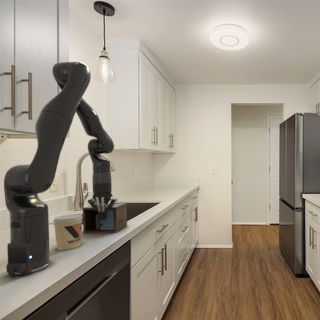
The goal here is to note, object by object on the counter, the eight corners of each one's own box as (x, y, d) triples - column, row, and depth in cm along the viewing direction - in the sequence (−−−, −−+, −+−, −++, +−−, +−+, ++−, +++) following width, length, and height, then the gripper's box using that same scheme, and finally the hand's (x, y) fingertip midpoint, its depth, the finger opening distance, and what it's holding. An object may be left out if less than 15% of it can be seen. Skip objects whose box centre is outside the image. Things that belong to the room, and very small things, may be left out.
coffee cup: (68, 251, 89) (67, 219, 89) (48, 250, 91) (47, 219, 91) (88, 242, 98) (88, 214, 98) (70, 241, 100) (69, 213, 100)
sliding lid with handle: (108, 232, 108) (108, 211, 107) (94, 232, 108) (94, 212, 108) (114, 229, 112) (113, 209, 112) (100, 229, 112) (100, 209, 112)
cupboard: (116, 232, 111) (116, 207, 111) (83, 233, 112) (82, 207, 111) (127, 226, 121) (126, 203, 121) (96, 227, 122) (95, 203, 121)
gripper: (82, 183, 104) (83, 222, 105) (111, 182, 104) (112, 221, 104) (93, 181, 112) (94, 217, 112) (120, 180, 112) (121, 217, 112)
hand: (103, 219), depth 108 cm, fingers closed
